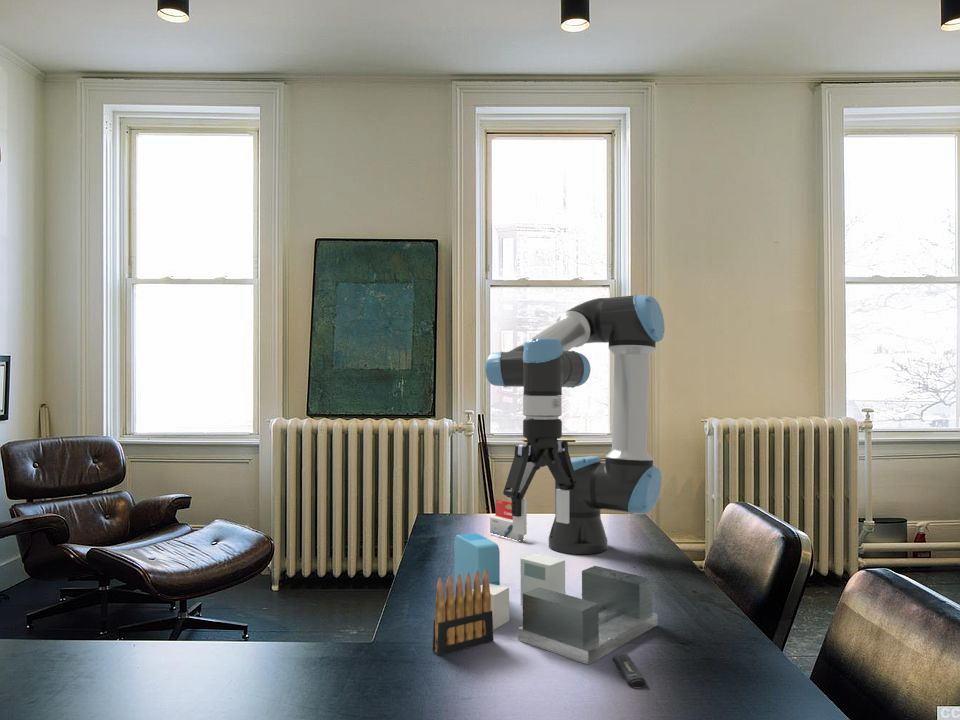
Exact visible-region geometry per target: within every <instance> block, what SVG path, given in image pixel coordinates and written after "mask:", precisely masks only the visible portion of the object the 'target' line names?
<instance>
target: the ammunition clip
mask: <svg viewBox="0 0 960 720" xmlns="http://www.w3.org/2000/svg"><path fill="white" fill-rule="evenodd" d="M445 586H446V589H444V583H443V580H442V577H441V576H440V577H439V578H438V580H437V584H436V597H435V599H436V600H435V603H434V604H435V606H434V607H435V608H434V616H435V617H434V619H433V632H432V634H433V635H432V653H434V654H435V655H437V656H439V657H440V656H443V655H446V654H450V653H454V652H458V651H461V650H465V649H470V648H472V647H473V648H474V647H476V646H477V647H478V646H480V645H485V644H488V643H493V642H494V629H493V617H492V611H491V594H490V586H489V575H488V571H487V569H485V571H484V574H483V581H482V593H481V582H480V575H479V572H478V570H477V571H476V573H475V577H474V588H473V595H472V582H471V576H470V574H469V572H468V573H467V575H466V579H465V590H464V597H463V584H462V578H461V575H460V574H458V577H457V580H456V591H455V592H454V582H453V579H452V576H451V575H449V576H448V578H447V581H446V585H445ZM444 590H446V591H444ZM454 593H455V596H454Z"/></svg>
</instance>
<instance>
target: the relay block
mask: <svg viewBox="0 0 960 720" xmlns="http://www.w3.org/2000/svg"><path fill="white" fill-rule="evenodd" d="M489 586H490V594H491V611H492V617H493V630H495V629H498V628H499V627H501V626H503V625H504V624H506V623H507V622H509V621H510V587H508V586H505V585H501V584H500V585H495V584H490V583H489ZM481 593H482V585H481ZM472 595H473V589H472Z"/></svg>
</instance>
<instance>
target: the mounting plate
mask: <svg viewBox="0 0 960 720" xmlns="http://www.w3.org/2000/svg"><path fill="white" fill-rule="evenodd" d="M657 626H658V613H655V612H653V578H651V577H646V576H643V575H637V574H632V573H629V572H626V571H625V572H624V571H619V570H615V569H611V568H607V567H602V566H599V565H598V566H597V565H594V566H591V567H589V568H586V569H583V570H581V598H580V597H577V596H573V595H569V594H567V593H565V594H562V593H559V592H555V591H551V590H548V589H544V588H540V587H538V588H536V589H533V590H530V591H528V592H525V593H523V606H522V626H520V627H518V628H517V641H519V642H523V643H526V644H528V645H530V646H534V647H537V648H540V649H542V650H546V651H548V652H551V653H553V654H556V655H560V656H562V657H565V658H568V659H571V660H572V661H573V660H574V661H577V662H579V663H583V664H585V665H591V664H592V663H594V662H596V661H597V660H600V659H601V658H603V657H605V656H606V655H608V654H610V653H612V652H613V651H615V650H617V649H618V648H620V647H623V646H624V645H626V644H628V643H629V642H631V641H632V640H634V639H636V638H637V637H640V636H641V635H643V634H645V633H646V632H648V631H650V630H652V629H653V628H656V627H657Z"/></svg>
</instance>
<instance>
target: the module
mask: <svg viewBox="0 0 960 720" xmlns="http://www.w3.org/2000/svg"><path fill="white" fill-rule="evenodd" d="M538 587H540V588H544V589H548V590H551V591H555V592H559V593H562V594H566V559H562V558H558V557H554V556H549V555H545V554H541V553H540V554H539V553H533V554H530V555H527V556H523V557H521V558H520V606H522V607H523V593H525V592H528V591H530V590H533V589H536V588H538Z"/></svg>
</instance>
